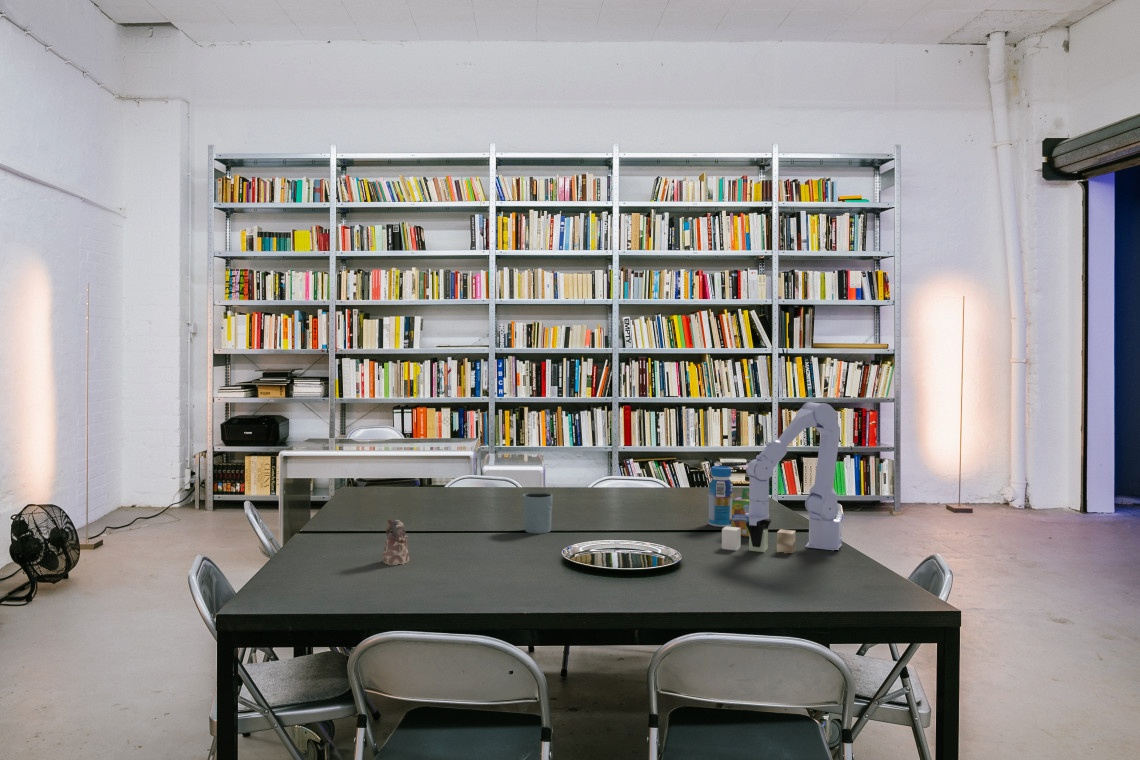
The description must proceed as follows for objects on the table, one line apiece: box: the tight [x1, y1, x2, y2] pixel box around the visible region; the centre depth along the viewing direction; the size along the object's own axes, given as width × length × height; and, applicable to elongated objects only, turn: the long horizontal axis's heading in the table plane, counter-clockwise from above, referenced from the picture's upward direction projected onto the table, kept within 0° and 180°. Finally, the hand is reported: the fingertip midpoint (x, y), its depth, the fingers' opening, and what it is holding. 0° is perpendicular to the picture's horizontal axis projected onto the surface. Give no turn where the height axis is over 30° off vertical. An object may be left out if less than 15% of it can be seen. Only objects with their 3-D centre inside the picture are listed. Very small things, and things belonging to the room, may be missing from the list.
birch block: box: [776, 528, 797, 554], centre depth 228 cm, size 4×4×6 cm
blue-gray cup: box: [522, 492, 554, 534], centre depth 254 cm, size 10×10×12 cm
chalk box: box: [730, 487, 749, 538], centre depth 250 cm, size 9×9×15 cm
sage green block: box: [748, 528, 769, 553], centre depth 230 cm, size 4×4×6 cm
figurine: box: [382, 518, 410, 566], centre depth 214 cm, size 7×7×12 cm
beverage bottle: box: [708, 465, 734, 528], centre depth 264 cm, size 8×8×20 cm
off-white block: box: [721, 526, 742, 551], centre depth 232 cm, size 4×4×6 cm
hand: (758, 544), depth 230 cm, fingers closed on sage green block, 4 cm apart
